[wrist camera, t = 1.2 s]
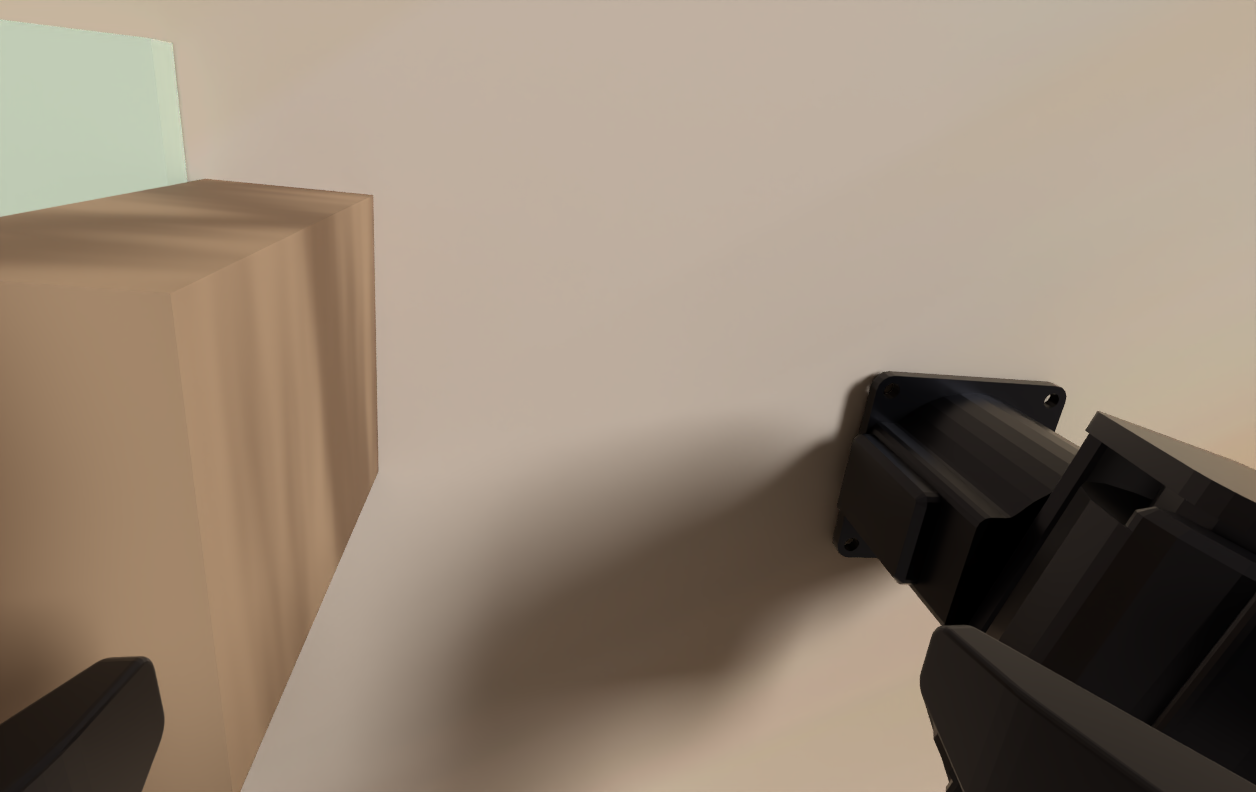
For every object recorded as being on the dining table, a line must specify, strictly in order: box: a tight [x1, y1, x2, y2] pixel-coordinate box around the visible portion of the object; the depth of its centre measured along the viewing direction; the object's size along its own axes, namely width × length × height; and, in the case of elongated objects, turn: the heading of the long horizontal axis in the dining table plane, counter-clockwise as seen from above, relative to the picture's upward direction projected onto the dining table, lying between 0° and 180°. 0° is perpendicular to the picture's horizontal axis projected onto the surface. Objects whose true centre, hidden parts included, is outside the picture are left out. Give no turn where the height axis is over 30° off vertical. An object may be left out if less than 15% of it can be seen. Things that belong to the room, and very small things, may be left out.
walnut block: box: [0, 179, 378, 792], centre depth 14 cm, size 4×8×11 cm, turn 174°
